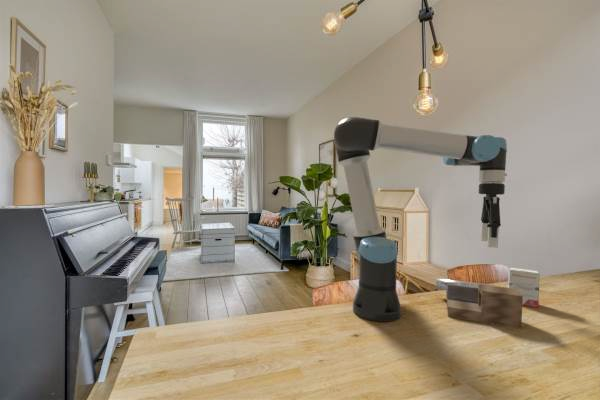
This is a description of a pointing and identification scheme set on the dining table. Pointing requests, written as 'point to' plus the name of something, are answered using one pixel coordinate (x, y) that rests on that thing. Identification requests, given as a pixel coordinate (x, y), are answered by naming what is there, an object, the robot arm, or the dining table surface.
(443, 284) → the axle
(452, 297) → the v block
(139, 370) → the dining table surface
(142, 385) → the dining table surface
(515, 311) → the wooden shaft support
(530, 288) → the ink box
